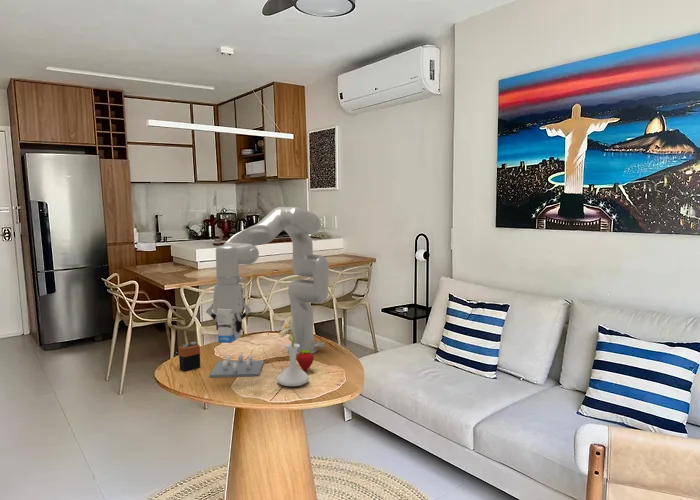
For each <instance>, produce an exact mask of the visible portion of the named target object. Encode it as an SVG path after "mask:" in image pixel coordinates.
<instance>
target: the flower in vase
mask: <svg viewBox="0 0 700 500" xmlns="http://www.w3.org/2000/svg"><path fill="white" fill-rule="evenodd" d="M292 320H293V319H292V316H291V315H290V316H288V317H287V318H286V319H284V322H283V324H282V326H281V327H280V332H279V336H280V338H284V337H285V336H287V334H288V333H289V331H290V333H289V335H288V341H290V343H288V344H286V345H285V348H286V349H287V352H288V351H289V353H288V357H289V365H288V367H287V368H285V370H283V371H282V372H281V373H279V375H278V376H277V378H276V381H277V383H278V384H280V385H282V386H285V387H297V386H302V385H305V384H307V383H308V382H309V380H310V376H309V374H308V373H307V372H304V371H303V370H302V368H301V367H300V366H298V365H297V355H296V353H297V350H298V348H299V346H300V345H299V344H294V342H295V338H294V335H293V333H292V331H291V325H292ZM291 333H292V335H291ZM291 342H292V344H291Z"/></svg>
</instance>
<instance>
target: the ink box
mask: <svg viewBox="0 0 700 500" xmlns="http://www.w3.org/2000/svg"><path fill="white" fill-rule="evenodd" d="M216 315H217V322H218V330H217V339H218V343H219V344H220V343H221V344H233V342H235V341H237V340H238V339H240V338H241V336H242V335H241V334H242V333H241V331H240V332H239V333H238V332H237V321H238V318H237V316H236V314H234V313H233V309H225V308H218V310H217V314H216Z"/></svg>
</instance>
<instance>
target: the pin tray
mask: <svg viewBox="0 0 700 500" xmlns="http://www.w3.org/2000/svg"><path fill="white" fill-rule="evenodd" d="M243 357H244V354H243V352H238V360H231V355H226V356H225V360H219V361H218V362H217V363H216V364H215V366H214V368H213V369H212V371H211V372H210V374H209V378H210V379H211V378H239V377H240V378H241V377H242V378H244V377H245V378H248V377H252V378H253V377H260V375H261V372H262V369H263V367H264V364H265V360H264V359H258V360H257V359H256V360H255V359H254V360H253V355H252V354H249V355H247V359H246V360H243Z"/></svg>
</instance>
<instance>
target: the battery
mask: <svg viewBox="0 0 700 500" xmlns="http://www.w3.org/2000/svg"><path fill="white" fill-rule="evenodd" d="M178 358H179V370H182V372H183V371H184V372H188V371H191V370H195V369H199V368H201V346H200V344H198V343H197V342H196V341H191V342H189V343H185V344H182V345H179V346H178Z"/></svg>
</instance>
